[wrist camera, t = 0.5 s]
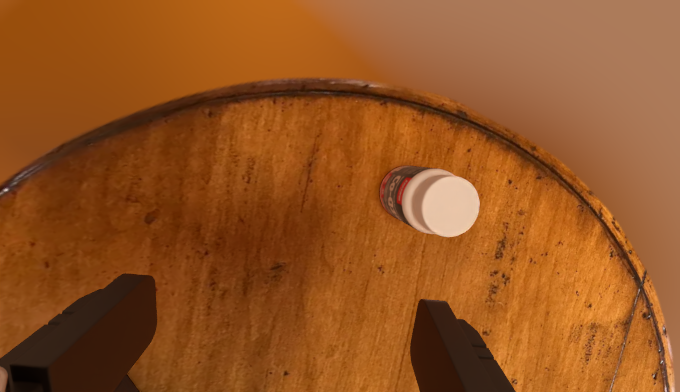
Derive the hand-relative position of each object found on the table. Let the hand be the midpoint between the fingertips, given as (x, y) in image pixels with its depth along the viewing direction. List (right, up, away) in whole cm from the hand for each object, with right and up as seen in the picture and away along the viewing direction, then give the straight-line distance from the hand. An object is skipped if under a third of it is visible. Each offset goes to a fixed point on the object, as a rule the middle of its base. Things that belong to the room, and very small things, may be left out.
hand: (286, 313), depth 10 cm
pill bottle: (+7, +4, +19) cm, 21 cm away
